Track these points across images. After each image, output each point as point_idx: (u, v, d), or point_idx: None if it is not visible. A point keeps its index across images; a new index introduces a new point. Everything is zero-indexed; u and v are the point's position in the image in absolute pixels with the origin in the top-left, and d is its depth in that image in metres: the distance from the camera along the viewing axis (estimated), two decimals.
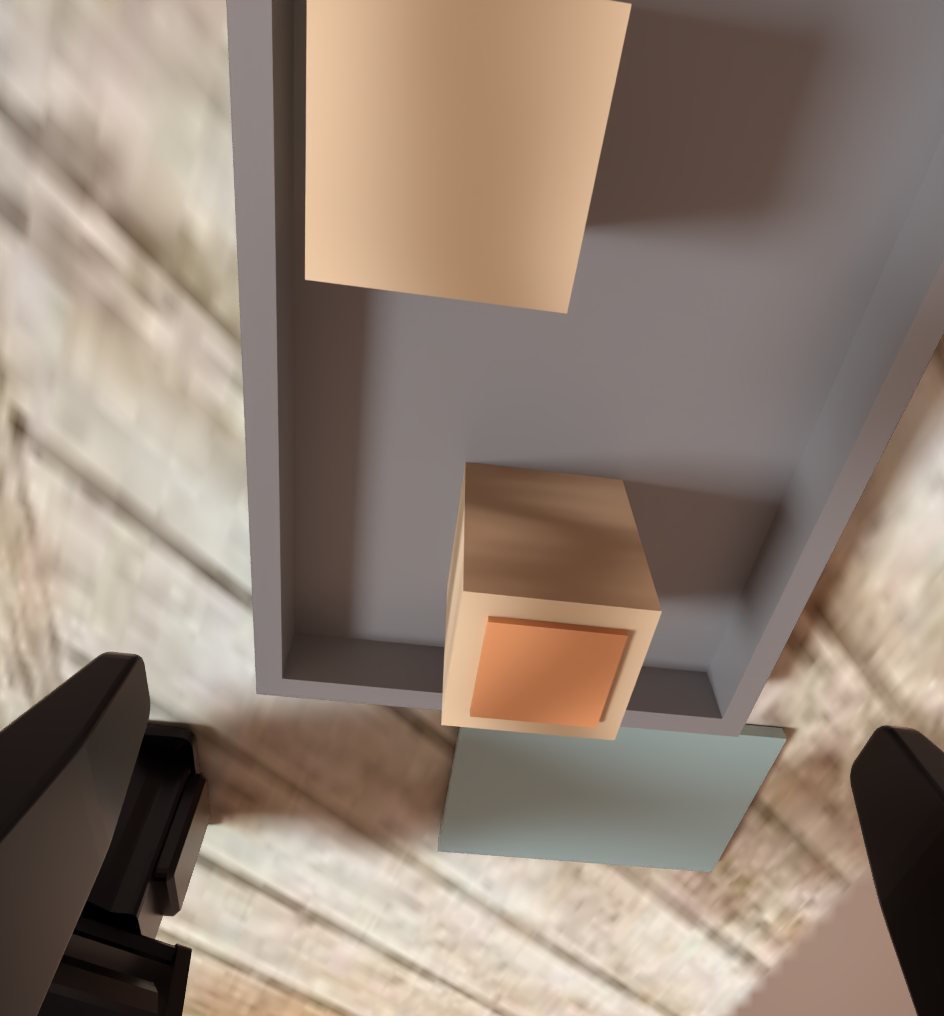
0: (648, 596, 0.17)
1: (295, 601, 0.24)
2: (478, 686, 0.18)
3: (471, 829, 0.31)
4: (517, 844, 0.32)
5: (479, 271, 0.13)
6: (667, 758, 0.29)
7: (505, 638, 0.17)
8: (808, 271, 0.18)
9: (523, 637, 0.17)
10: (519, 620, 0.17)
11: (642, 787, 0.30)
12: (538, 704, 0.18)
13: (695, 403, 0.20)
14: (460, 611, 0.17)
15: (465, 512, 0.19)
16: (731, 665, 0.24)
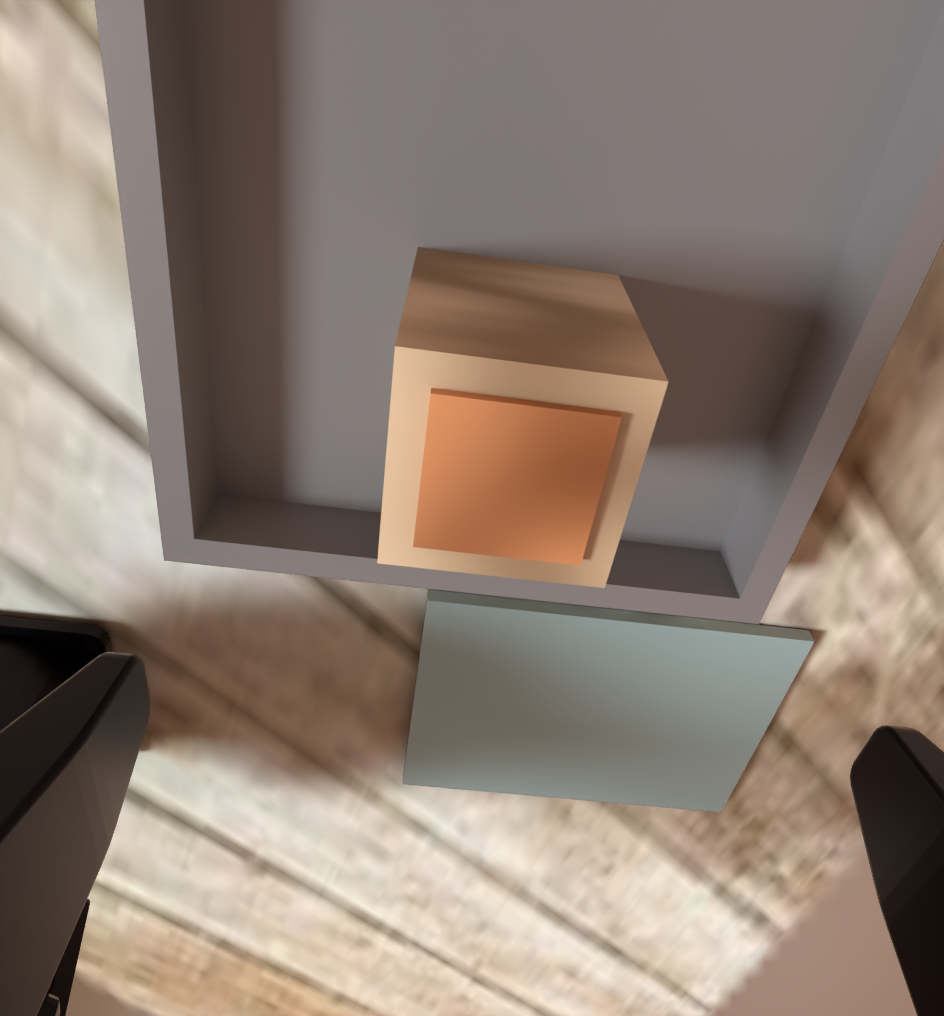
0: (650, 368, 0.13)
1: (214, 449, 0.20)
2: (422, 499, 0.14)
3: (441, 756, 0.27)
4: (495, 775, 0.27)
5: None
6: (671, 666, 0.24)
7: (455, 421, 0.13)
8: None
9: (479, 419, 0.13)
10: (473, 395, 0.13)
11: (641, 704, 0.25)
12: (503, 528, 0.14)
13: (713, 157, 0.16)
14: (393, 381, 0.12)
15: (410, 284, 0.15)
16: (751, 531, 0.20)
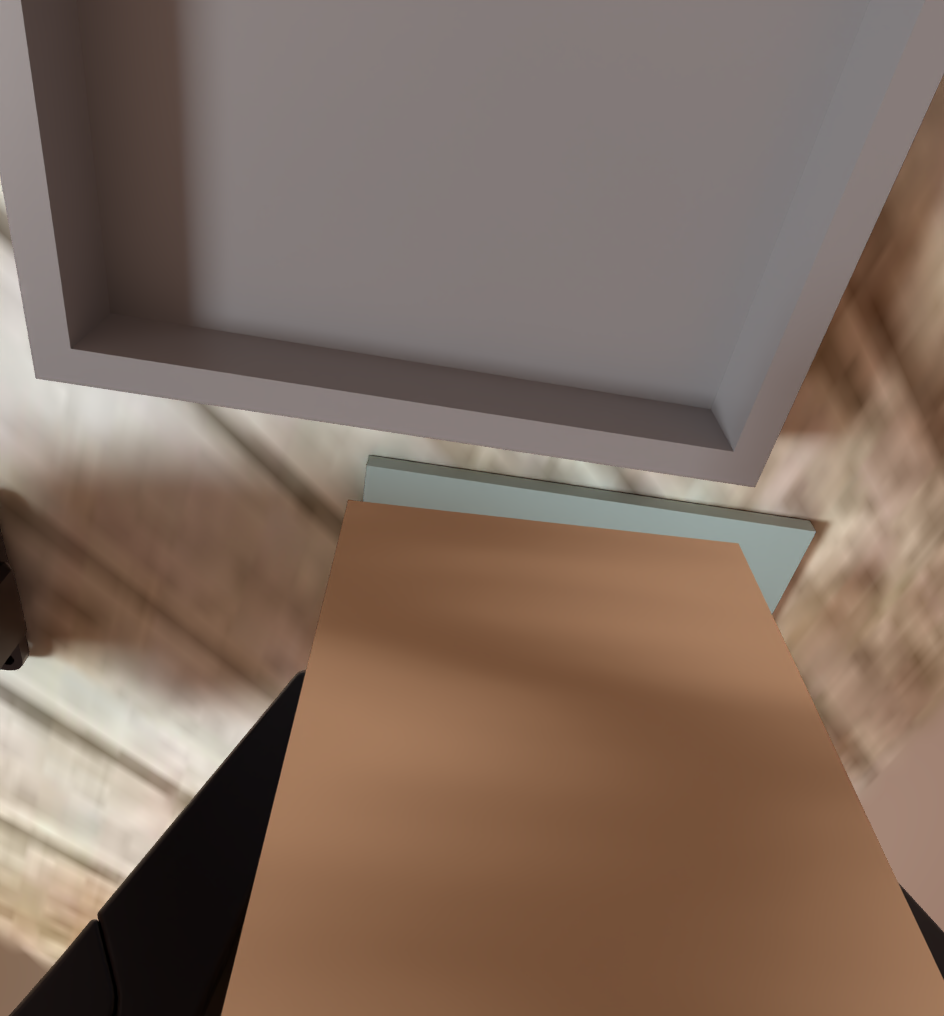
0: None
1: (104, 251, 0.16)
2: None
3: None
4: None
5: None
6: None
7: None
8: None
9: None
10: None
11: None
12: None
13: None
14: None
15: (311, 662, 0.06)
16: (750, 369, 0.16)
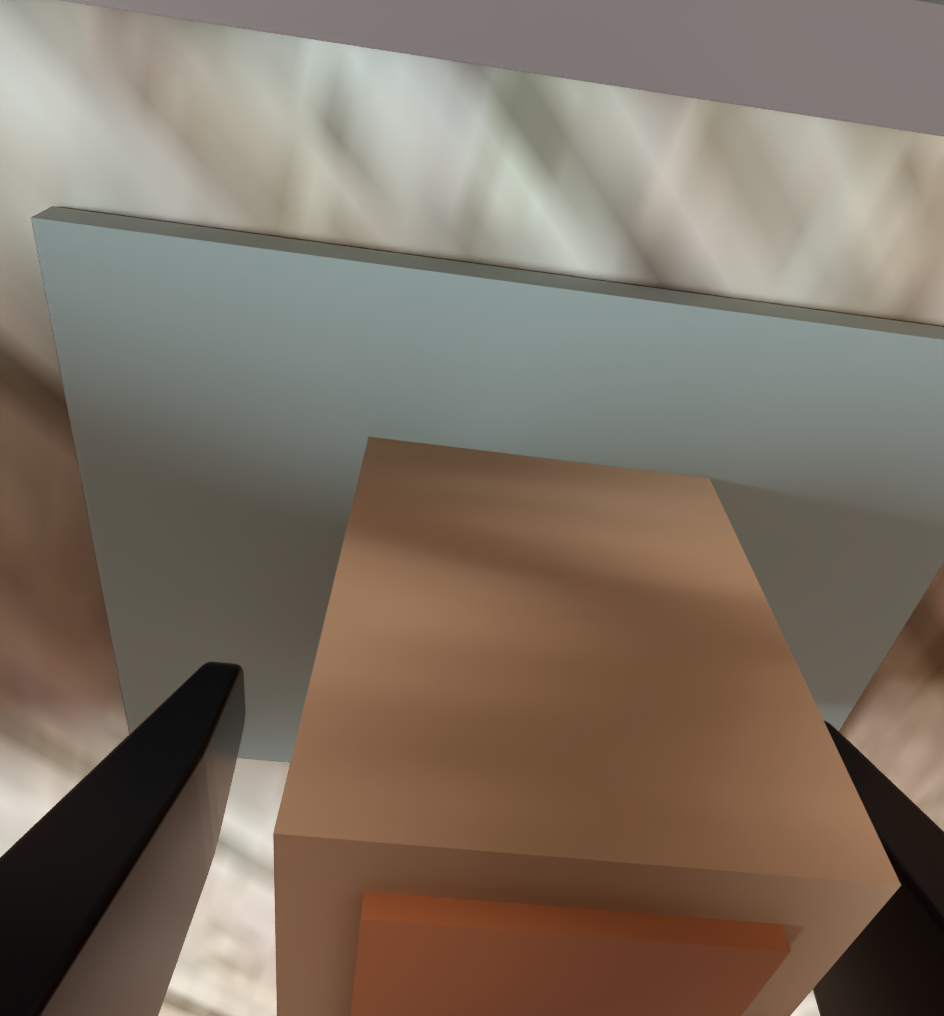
0: (846, 823, 0.06)
1: None
2: None
3: None
4: None
5: None
6: (699, 439, 0.10)
7: (418, 954, 0.06)
8: None
9: (472, 953, 0.06)
10: (459, 901, 0.06)
11: None
12: None
13: None
14: (277, 879, 0.06)
15: (342, 556, 0.08)
16: None
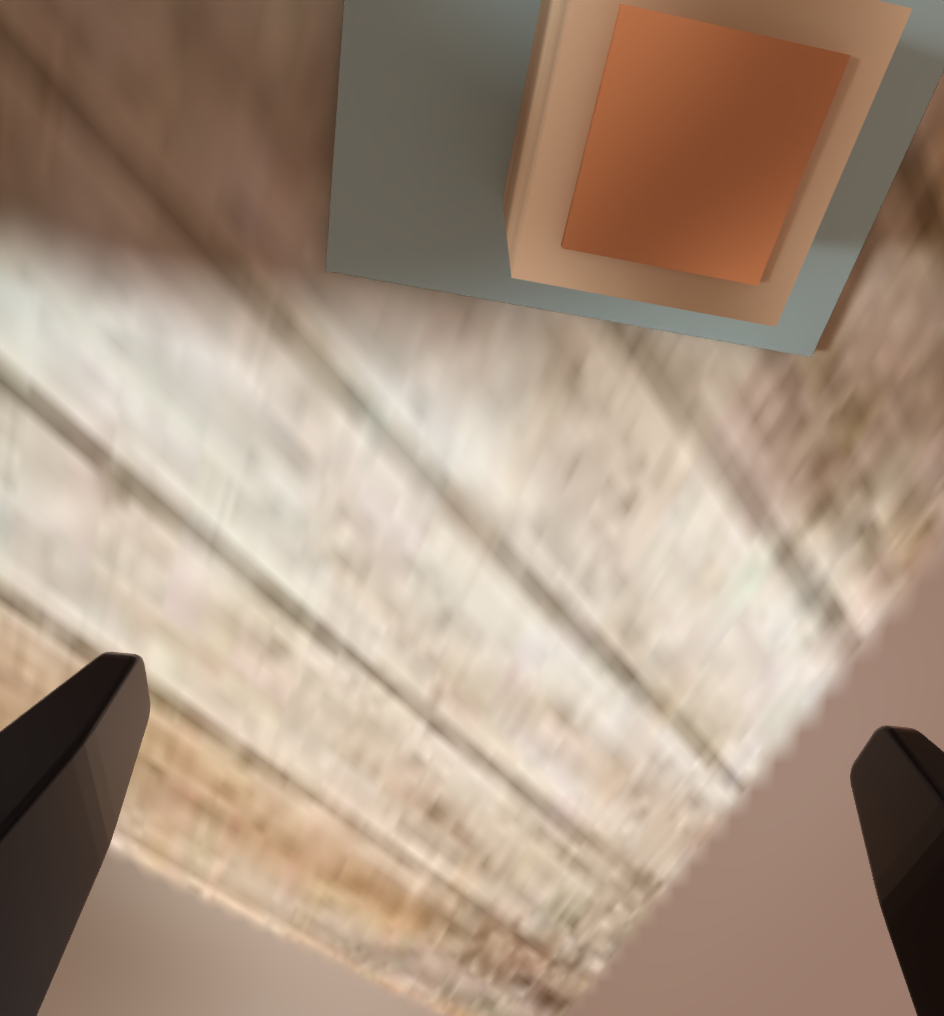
0: None
1: None
2: (584, 174, 0.11)
3: (386, 202, 0.17)
4: (470, 254, 0.17)
5: None
6: None
7: (645, 50, 0.10)
8: None
9: (676, 49, 0.10)
10: (670, 18, 0.10)
11: None
12: (675, 223, 0.12)
13: None
14: None
15: None
16: None
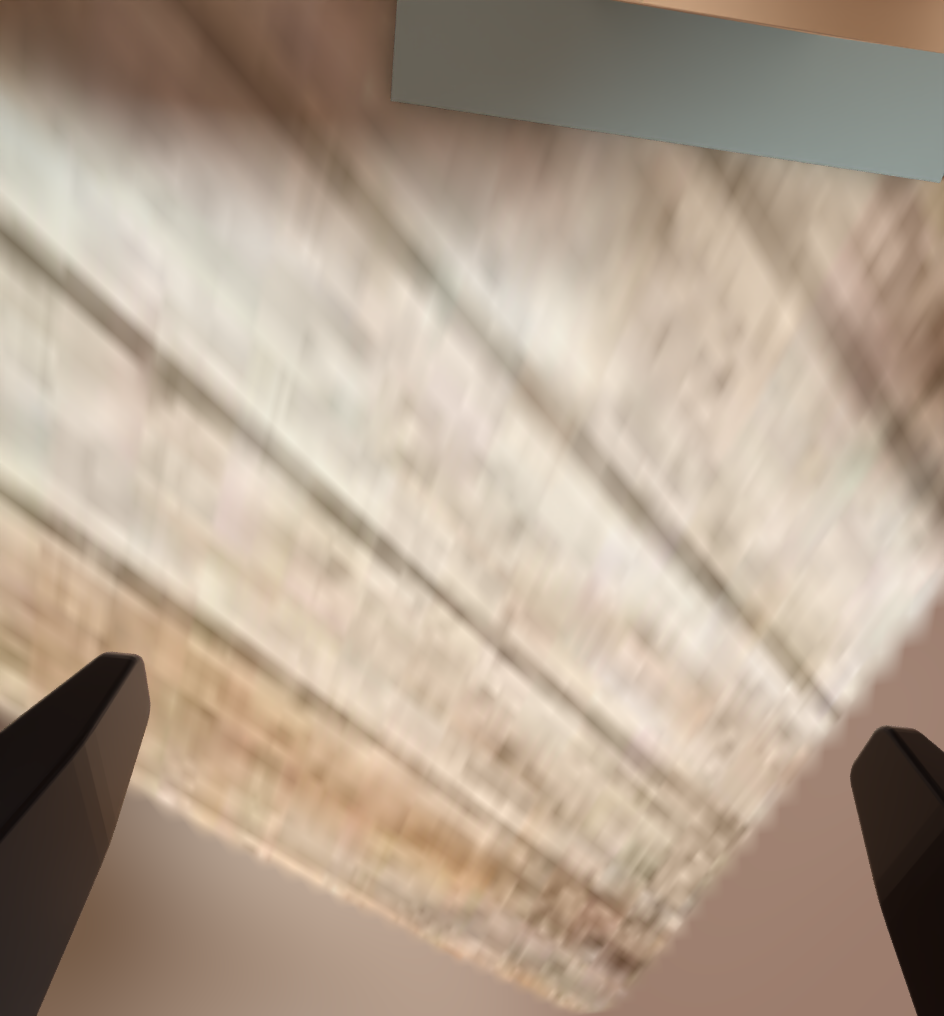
0: None
1: None
2: None
3: (459, 9, 0.15)
4: (554, 71, 0.15)
5: None
6: None
7: None
8: None
9: None
10: None
11: None
12: None
13: None
14: None
15: None
16: None
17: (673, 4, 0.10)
